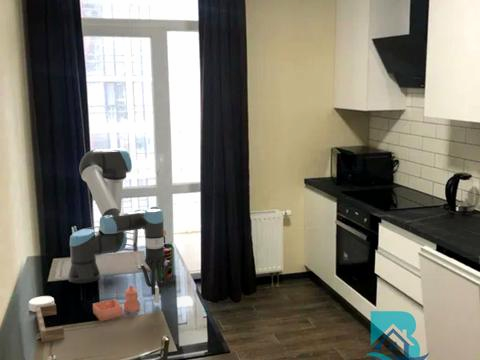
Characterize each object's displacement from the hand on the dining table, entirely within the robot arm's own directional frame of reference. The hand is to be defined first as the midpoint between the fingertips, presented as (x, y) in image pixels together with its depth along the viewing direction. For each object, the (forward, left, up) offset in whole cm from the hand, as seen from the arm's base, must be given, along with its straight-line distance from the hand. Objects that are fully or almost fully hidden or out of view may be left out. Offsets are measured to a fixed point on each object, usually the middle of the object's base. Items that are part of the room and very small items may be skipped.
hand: (156, 301), depth 217 cm
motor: (-35, +13, -2) cm, 37 cm away
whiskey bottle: (-50, +14, -2) cm, 52 cm away
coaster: (-20, -44, -2) cm, 48 cm away
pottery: (0, -16, -2) cm, 16 cm away
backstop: (+2, -43, -2) cm, 43 cm away
